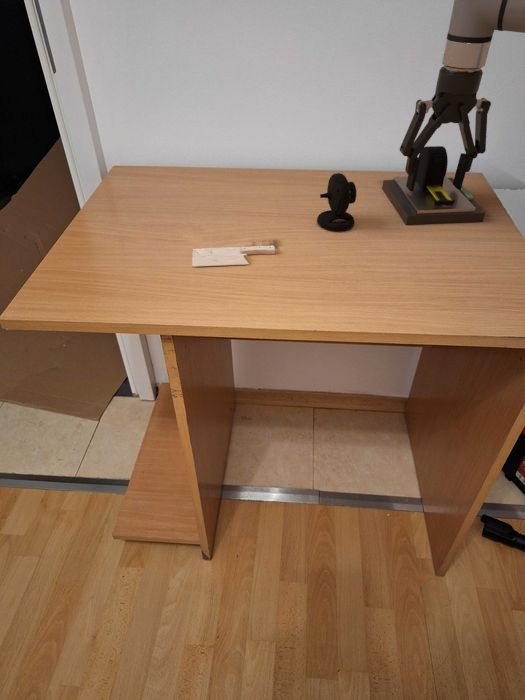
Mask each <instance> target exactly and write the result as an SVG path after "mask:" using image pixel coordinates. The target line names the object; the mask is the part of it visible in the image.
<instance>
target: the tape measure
mask: <svg viewBox="0 0 525 700" xmlns="http://www.w3.org/2000/svg"><path fill="white" fill-rule="evenodd" d="M417 157H418V158H419V159H420V163H419V167H418V172H417V177H416V181H417V182H418V184H419V185H420V187H421V189H422V190H423V191H424V192H431V193H432V195H433V196H434V198H435V199H436V200H437V201H438V202H437V201H436V200H434V206H441V205H446V206H452V205H453V203H454V201H455V199H454V200H452V201H451V199H450V197H449V196H448V195H447V193H446V192H445V191H444V190H443V188H442V187H443V182H444V177H445V176H446V175H447V172H448V162H449V160H448V153H447V148H445V146H443V145H438V146H437V145H435V146H433V145H432V146H428V145H427V146H424V148H423V149H422V151H421V152H420V153H419V155H418V156H417Z"/></svg>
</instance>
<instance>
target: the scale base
mask: <svg viewBox="0 0 525 700" xmlns="http://www.w3.org/2000/svg"><path fill="white" fill-rule="evenodd" d="M447 178H448V179H449V180H450V181H451V182H452V183H453V181H454V178H453V177H447ZM381 189H382V190H383V193H384V194H385V195H386V197H387V198H388V200H389V201H390V203H391V205H392V207H394V209H395V210H396V212H397V214H398V216H400V218H401V220H402V221H403V223H404V224H405V226H414V225H416V226H417V225H436V224H437V225H438V224H441V225H442V224H458V223H459V224H460V223H461V224H463V223H482V222H484V219H485V215H486V211H484V210H483V209H482V207H481V206H480V205H479V204H478V203H477V202H476V201H475V200H474V196H473V195H472V194H471V193H470V192H469V191H468V190H467V188H466V187H465V186H463V185H462V187H461V189H458V190H459V191H460V192H461V193H462V194H463V195H464V196H465V197H466V198H467V199H468V200H469V201H470V202H471V204H472V205H473V206H474V207H475V208H476V210H475V212H460V213H435V214H416V212H415V211H414V210H413V208H412V207H411V205H410V204H409V202H408V201H407V200H406V198H405V197H404V195H403V194H402V193H401V191H400V190H399V188H398V187H397V186H396V184H395V183H394V181H393V179H383V181H382V188H381Z"/></svg>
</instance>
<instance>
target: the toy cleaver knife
mask: <svg viewBox="0 0 525 700" xmlns="http://www.w3.org/2000/svg"><path fill="white" fill-rule="evenodd" d="M256 254H257V255H258V254H260V255H261V254H262V255H263V254H266V255H268V254H269V255H275V254H276V248H275V245H257V246H256V245H255V246H254V245H253V246H227V247H226V246H225V247H221V246H220V247H202V248H192V256H191V257H192V259H191V260H192V261H191V262H192V263H191V265H192V267H194V268H195V267H220V266H243V265H250V264H249V262H248V261H247V259H248V255H256Z"/></svg>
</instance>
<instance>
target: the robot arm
mask: <svg viewBox="0 0 525 700" xmlns="http://www.w3.org/2000/svg"><path fill="white" fill-rule="evenodd" d="M451 10H452V11H451V16H450V21H449V26H448V31H447V34H446V40H445V43H444V48H443V53H442V58H441V65H442V66H441V68H439V70H438V71H439V72H438V75H437V81H436V85H435V93H434V95H433V97H432V98H431V99H429V100H422V99H417V100H416V102H415V109H414V110H415V111H414V113H413V116H412V119H411V121H410V124H409V126H408V128H407V130H406V132H405V135H404V137H403V140H402V143H401V145H400V147H399V152H400V153H401V154H402V156H404V157H407V158H406V163H405V169H404V170H405V172H406V174H407V177H408V179H407V184H406V187H407V188H408V189H409V191H414V186H415V182H416V177H417V172H418V167H419V163H420V159H419V158H418V157H419V154H420V152H421V151H422V149H423V148H424V147H426V145H427V144H428V143H429V141H430V140H431V138H433V137H432V136H433V135H434V134H435V132H437V130H438V129H439V128H441V126H442V125H443V124H444V125H445V124H446V125H447V124H450V123H453V124H457V125H458V128H459V132H460V136H461V140H462V144H463V148H464V151H465V153H464V152H463V153H460V155H459V159H458V163H457V166H456V171H455V174H454V178H453V179H454V181H453V185H454V186H455V187H456V188H457V189H461V187H462V186H463V183H464V180H465V177H466V173H469V172H470V171H471V169H472V166H473V165H472V164H473V162H474V159H476V158H477V157H478V155H479V154H482V155H483V154H485V152H486V149H487V128H488V114H489V111H490V108H491V106H492V102H491V101H490V100H489V99H487V98H486V97H482V98H477V94H478V92H479V89H480V85H481V81H482V77H483V74H484V72H483V69H482V68H484V67H485V66H486V63H487V59H488V55H489V51H490V47H491V43H492V41H493V37H494V36H493V35H494V32H495V31H499V32H513V33H522V34H525V0H453V5H452V9H451ZM430 109H432V111H433V112H432V113H431V115H430V117H429V118H428V121H427V123H426V125H425V126H424V127H423V129H422V130H421V132H420V129H421V127H422V125H423V123H424V121H425V118H426V114H428V113H429V112H430ZM473 109H474V110H475V124H474V125H475V126H474V138H473V135H472V130H471V122H470V117H469V114H470V113H471V111H472V110H473ZM419 132H420V133H419Z"/></svg>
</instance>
